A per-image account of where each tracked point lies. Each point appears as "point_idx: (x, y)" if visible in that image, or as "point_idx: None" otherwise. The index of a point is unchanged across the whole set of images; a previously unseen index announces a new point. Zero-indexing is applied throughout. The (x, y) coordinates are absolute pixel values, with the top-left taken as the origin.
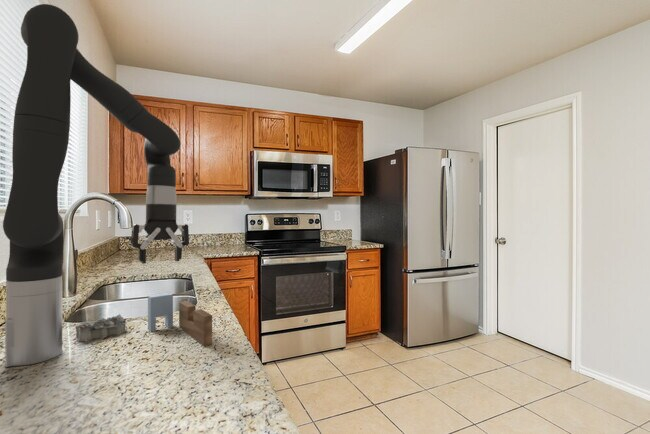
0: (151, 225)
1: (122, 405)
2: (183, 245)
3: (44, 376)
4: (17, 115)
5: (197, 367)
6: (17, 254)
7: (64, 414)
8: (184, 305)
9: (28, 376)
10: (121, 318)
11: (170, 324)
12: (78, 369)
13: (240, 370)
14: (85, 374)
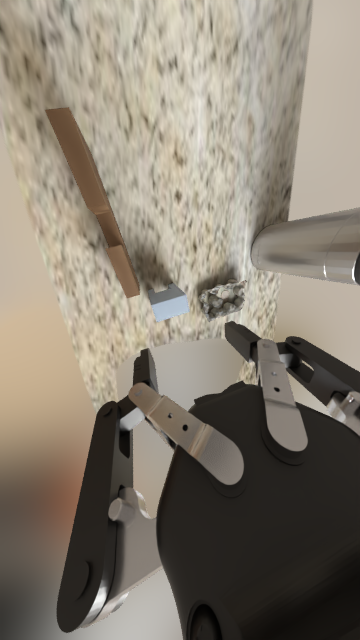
0: (346, 462)
1: None
2: (125, 400)
3: (269, 174)
4: None
5: (91, 11)
6: None
7: None
8: (128, 265)
9: (278, 186)
10: (206, 311)
11: (151, 290)
12: (244, 174)
13: None
14: (240, 145)
